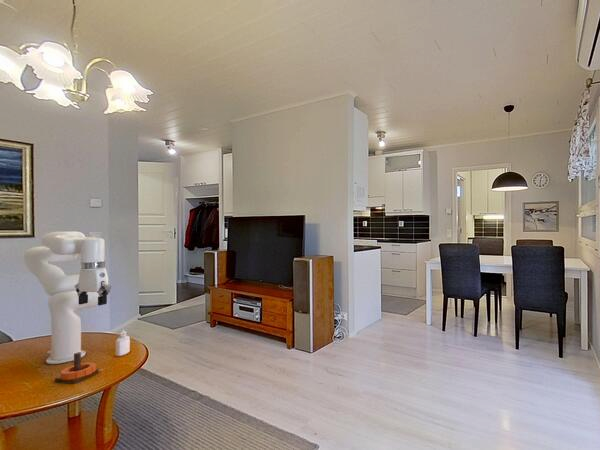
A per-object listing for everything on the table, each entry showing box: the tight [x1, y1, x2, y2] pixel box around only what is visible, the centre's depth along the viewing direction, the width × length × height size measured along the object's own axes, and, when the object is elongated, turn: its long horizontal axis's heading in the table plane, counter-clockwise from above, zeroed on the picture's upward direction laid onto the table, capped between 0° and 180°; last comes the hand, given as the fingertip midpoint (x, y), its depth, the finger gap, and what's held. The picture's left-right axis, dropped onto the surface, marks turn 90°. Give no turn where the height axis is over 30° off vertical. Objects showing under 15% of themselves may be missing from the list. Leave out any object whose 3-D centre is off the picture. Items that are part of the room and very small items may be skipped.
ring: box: [60, 361, 97, 380], centre depth 127 cm, size 10×10×2 cm
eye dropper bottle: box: [115, 329, 131, 357], centre depth 150 cm, size 4×6×12 cm
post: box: [54, 352, 100, 384], centre depth 127 cm, size 9×9×10 cm
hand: (92, 304), depth 135 cm, fingers open, 9 cm apart
